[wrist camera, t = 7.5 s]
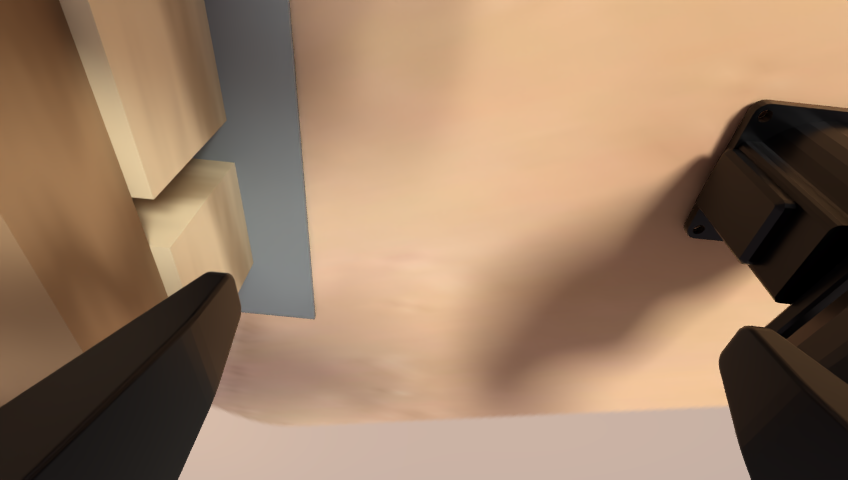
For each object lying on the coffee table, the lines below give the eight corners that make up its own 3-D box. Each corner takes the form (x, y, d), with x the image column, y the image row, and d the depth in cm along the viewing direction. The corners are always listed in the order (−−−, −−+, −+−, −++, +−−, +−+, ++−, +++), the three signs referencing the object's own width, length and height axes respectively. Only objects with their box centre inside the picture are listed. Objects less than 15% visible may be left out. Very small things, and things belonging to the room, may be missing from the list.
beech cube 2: (234, 162, 20) (169, 247, 16) (253, 262, 24) (205, 356, 19) (99, 148, 20) (-8, 230, 16) (138, 251, 24) (63, 342, 19)
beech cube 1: (195, -47, 15) (83, -13, 11) (226, 120, 19) (153, 199, 14) (15, -68, 15) (-178, -43, 11) (81, 104, 19) (-39, 180, 14)
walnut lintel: (189, 354, 19) (139, 446, 16) (82, 344, 19) (10, 434, 16) (52, -18, 11) (-112, 25, 8) (-144, -40, 11) (-392, -5, 8)
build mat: (272, -199, 13) (270, -200, 13) (315, 316, 27) (314, 319, 27) (-154, -250, 13) (-161, -251, 13) (109, 296, 27) (106, 299, 26)
